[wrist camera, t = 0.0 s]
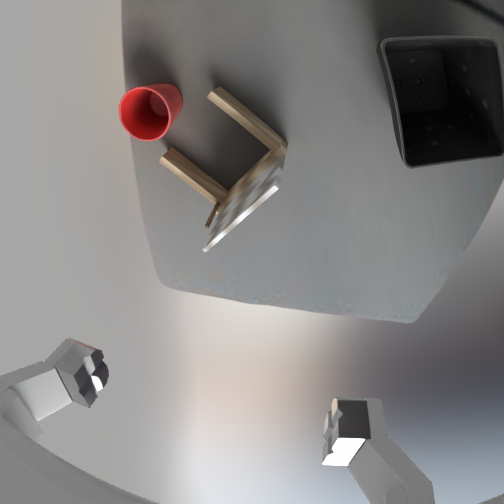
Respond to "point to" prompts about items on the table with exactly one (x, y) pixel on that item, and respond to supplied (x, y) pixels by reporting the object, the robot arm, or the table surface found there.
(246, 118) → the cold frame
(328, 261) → the table surface
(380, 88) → the table surface
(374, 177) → the table surface
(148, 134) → the flower pot
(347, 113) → the table surface
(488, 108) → the flower pot
